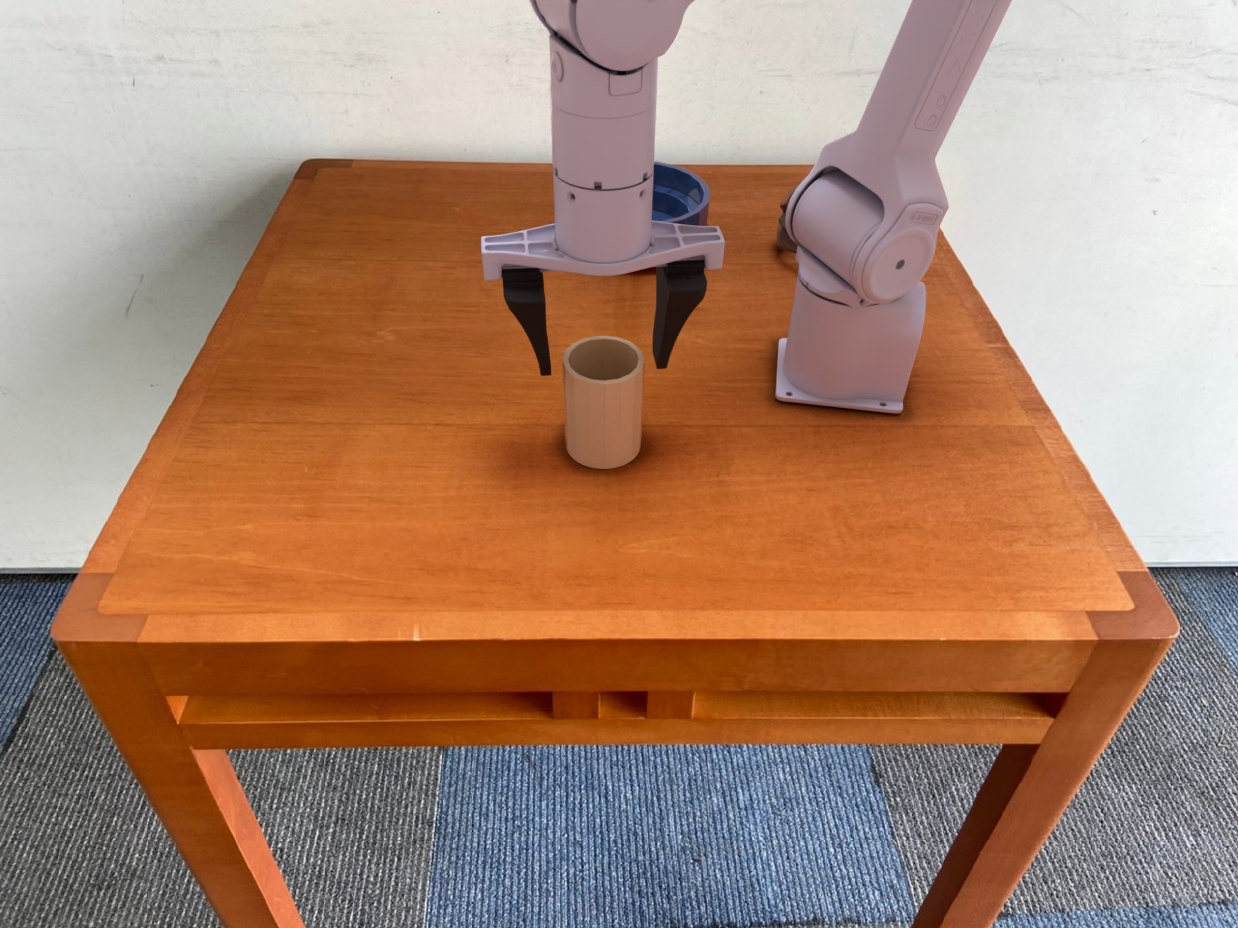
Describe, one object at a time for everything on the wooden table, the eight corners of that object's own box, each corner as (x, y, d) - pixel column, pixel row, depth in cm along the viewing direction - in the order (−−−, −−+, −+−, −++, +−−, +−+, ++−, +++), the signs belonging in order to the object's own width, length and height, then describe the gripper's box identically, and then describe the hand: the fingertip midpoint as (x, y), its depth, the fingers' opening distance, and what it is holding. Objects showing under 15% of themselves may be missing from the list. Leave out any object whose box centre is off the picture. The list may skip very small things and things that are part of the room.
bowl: (711, 214, 91) (715, 166, 88) (698, 281, 82) (703, 231, 78) (583, 202, 93) (582, 155, 89) (555, 267, 83) (553, 217, 80)
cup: (645, 424, 67) (649, 340, 62) (634, 473, 63) (637, 387, 58) (574, 416, 67) (571, 331, 62) (558, 464, 63) (555, 378, 58)
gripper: (715, 135, 55) (698, 324, 64) (474, 143, 53) (492, 335, 63) (740, 187, 50) (718, 384, 59) (474, 198, 48) (494, 398, 57)
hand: (602, 363), depth 60 cm, fingers open, 7 cm apart
